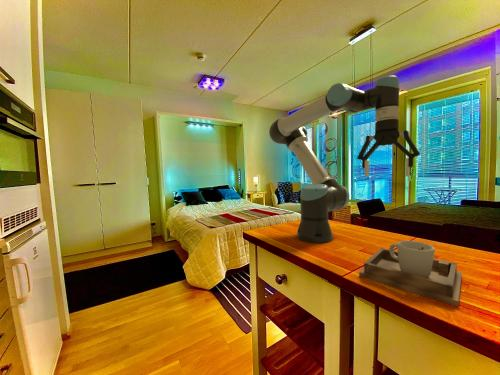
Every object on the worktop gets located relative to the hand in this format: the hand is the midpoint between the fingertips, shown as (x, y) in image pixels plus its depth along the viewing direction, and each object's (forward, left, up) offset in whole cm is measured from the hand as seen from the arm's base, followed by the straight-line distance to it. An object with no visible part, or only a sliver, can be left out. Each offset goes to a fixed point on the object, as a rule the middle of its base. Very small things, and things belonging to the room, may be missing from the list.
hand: (385, 176), depth 83 cm
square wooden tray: (+12, -25, -27) cm, 38 cm away
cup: (+12, -25, -26) cm, 37 cm away
